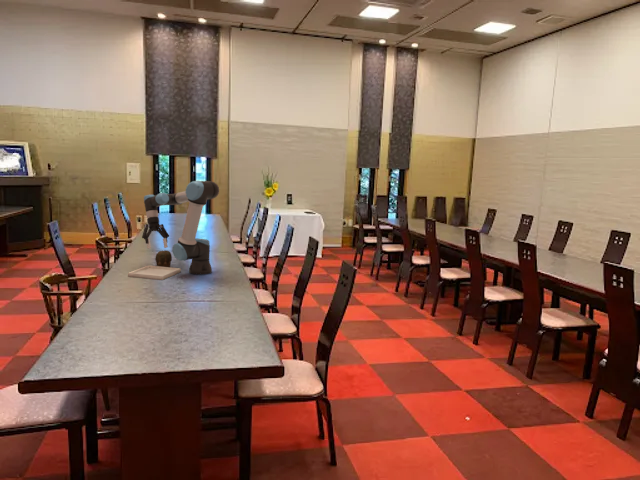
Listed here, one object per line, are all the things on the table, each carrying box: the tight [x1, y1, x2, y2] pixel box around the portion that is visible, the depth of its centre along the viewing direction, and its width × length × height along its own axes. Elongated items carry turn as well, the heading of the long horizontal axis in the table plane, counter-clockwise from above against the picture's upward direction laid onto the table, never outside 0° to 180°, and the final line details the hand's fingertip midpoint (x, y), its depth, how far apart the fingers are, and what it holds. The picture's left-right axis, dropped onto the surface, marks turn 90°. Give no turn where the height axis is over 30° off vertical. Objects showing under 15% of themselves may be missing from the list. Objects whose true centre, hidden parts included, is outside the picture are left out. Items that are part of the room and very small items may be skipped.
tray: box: [127, 265, 182, 281], centre depth 310 cm, size 24×24×2 cm
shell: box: [154, 250, 173, 268], centre depth 330 cm, size 11×11×12 cm
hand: (157, 248), depth 320 cm, fingers open, 13 cm apart
